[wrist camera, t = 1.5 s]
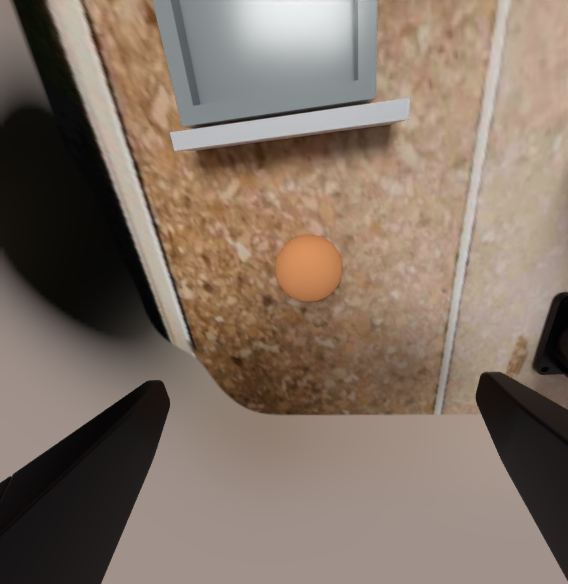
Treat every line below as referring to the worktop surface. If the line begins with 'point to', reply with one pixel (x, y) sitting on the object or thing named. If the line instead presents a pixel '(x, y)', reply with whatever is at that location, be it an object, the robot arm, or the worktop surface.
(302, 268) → the ball
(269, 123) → the wall
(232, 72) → the tray
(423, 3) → the worktop surface
